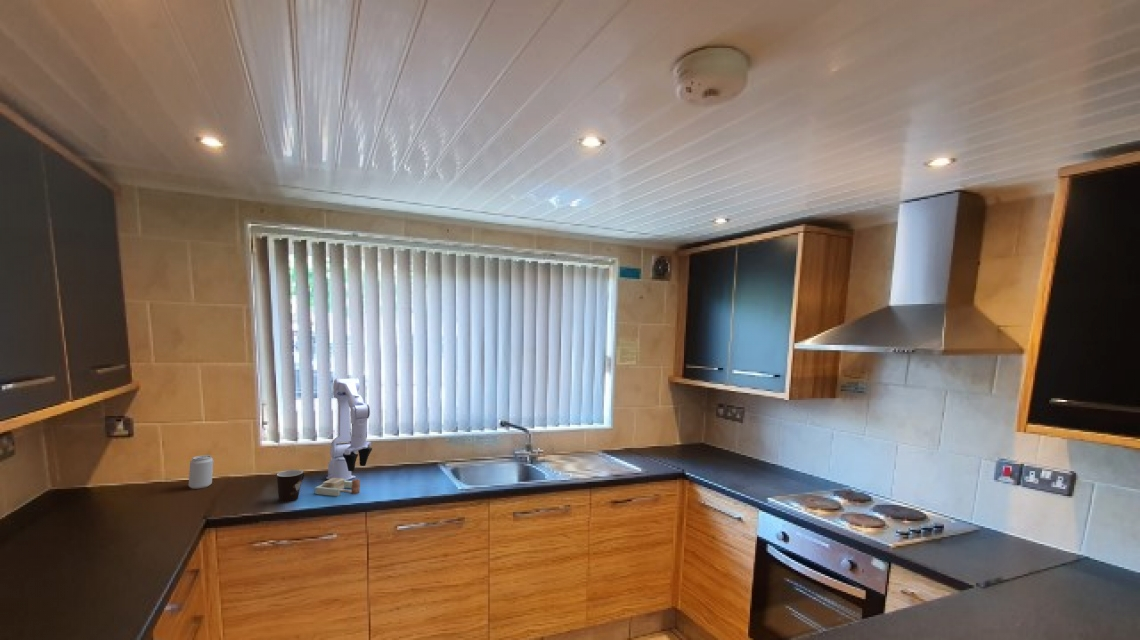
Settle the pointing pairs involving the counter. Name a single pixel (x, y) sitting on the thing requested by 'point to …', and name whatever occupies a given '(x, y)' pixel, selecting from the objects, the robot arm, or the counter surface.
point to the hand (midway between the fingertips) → (356, 468)
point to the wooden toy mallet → (339, 484)
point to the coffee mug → (289, 485)
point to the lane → (331, 489)
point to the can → (200, 472)
